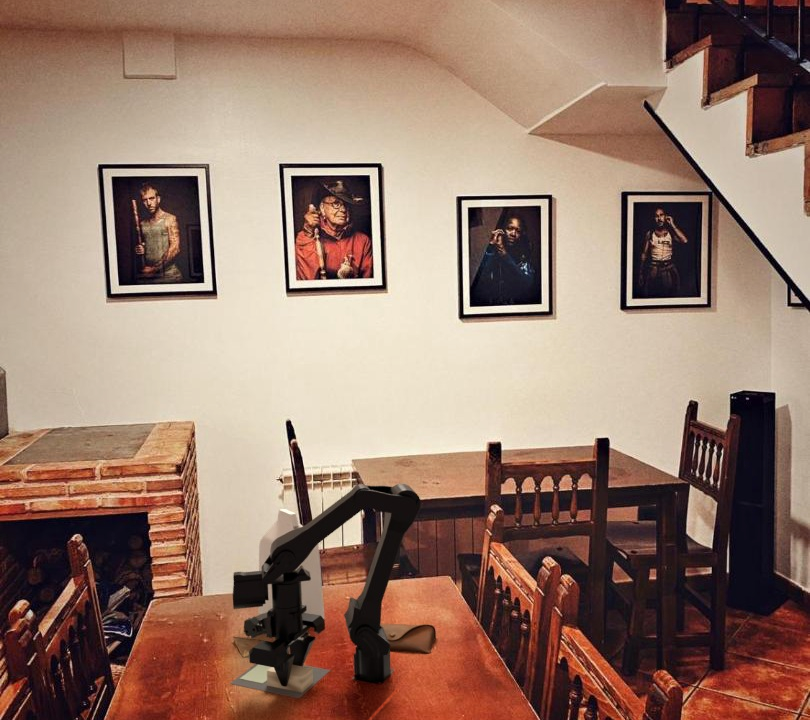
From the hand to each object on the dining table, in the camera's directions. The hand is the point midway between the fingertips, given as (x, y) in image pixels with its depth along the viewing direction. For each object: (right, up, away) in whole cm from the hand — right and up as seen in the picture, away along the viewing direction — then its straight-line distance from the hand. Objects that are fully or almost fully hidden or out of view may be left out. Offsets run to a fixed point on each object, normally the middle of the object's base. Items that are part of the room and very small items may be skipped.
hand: (290, 680), depth 150 cm
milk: (-5, +1, +34) cm, 35 cm away
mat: (-2, -1, +3) cm, 4 cm away
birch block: (0, -1, 0) cm, 1 cm away
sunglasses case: (+20, 0, +18) cm, 27 cm away
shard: (-12, -1, +17) cm, 21 cm away
